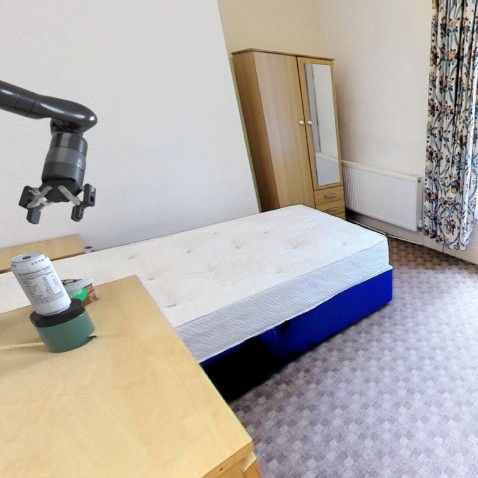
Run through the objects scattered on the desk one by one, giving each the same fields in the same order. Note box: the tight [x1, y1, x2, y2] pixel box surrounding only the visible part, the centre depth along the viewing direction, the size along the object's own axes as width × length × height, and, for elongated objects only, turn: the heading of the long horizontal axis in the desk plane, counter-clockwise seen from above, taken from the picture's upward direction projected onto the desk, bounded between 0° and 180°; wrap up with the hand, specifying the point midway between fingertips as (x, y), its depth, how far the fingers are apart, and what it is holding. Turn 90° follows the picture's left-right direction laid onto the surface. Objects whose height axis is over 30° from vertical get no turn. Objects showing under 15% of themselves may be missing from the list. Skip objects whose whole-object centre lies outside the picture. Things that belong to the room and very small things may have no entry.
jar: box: [33, 307, 97, 354], centre depth 83 cm, size 9×9×10 cm
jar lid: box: [28, 298, 86, 327], centre depth 81 cm, size 9×9×2 cm
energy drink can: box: [9, 251, 71, 316], centre depth 77 cm, size 6×6×15 cm
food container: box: [60, 275, 98, 307], centre depth 93 cm, size 12×6×10 cm, turn 106°
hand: (54, 221), depth 82 cm, fingers open, 8 cm apart
